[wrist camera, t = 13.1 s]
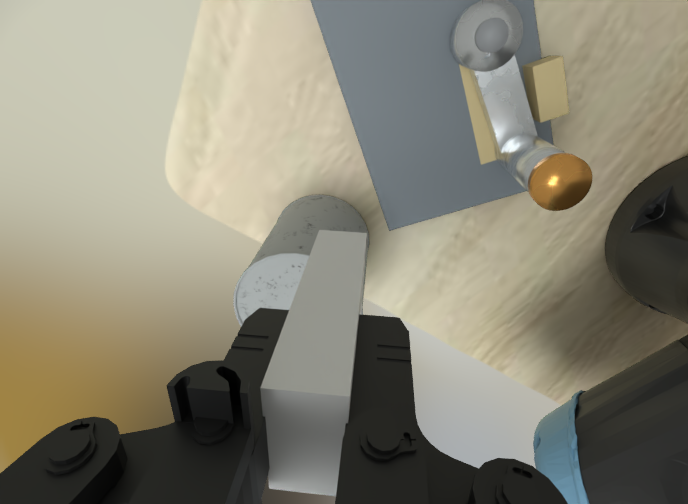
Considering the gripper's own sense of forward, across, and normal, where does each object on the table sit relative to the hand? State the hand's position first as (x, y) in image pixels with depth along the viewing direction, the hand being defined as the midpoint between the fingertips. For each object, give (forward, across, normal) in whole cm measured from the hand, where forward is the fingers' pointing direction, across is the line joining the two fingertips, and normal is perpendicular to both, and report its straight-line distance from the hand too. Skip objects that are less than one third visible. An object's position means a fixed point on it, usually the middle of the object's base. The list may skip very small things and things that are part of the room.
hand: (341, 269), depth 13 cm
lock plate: (+24, +5, +5) cm, 26 cm away
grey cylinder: (+25, -4, -11) cm, 27 cm away
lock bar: (+23, +10, +4) cm, 25 cm away
